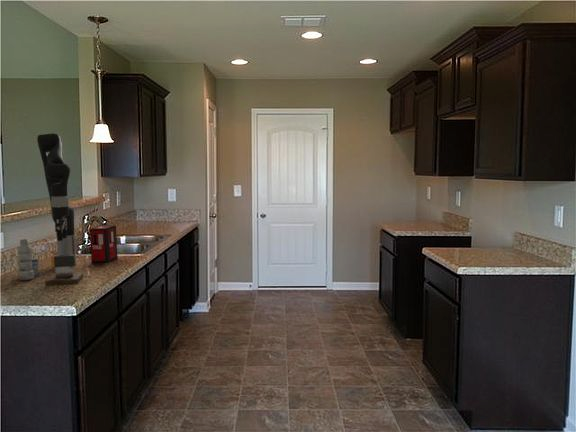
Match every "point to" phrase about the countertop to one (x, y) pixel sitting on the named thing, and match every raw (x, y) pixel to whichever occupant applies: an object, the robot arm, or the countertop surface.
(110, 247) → the cleaning product box
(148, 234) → the countertop surface
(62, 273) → the grey piece
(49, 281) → the coupling base
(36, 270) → the medicine box
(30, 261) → the plastic bottle
